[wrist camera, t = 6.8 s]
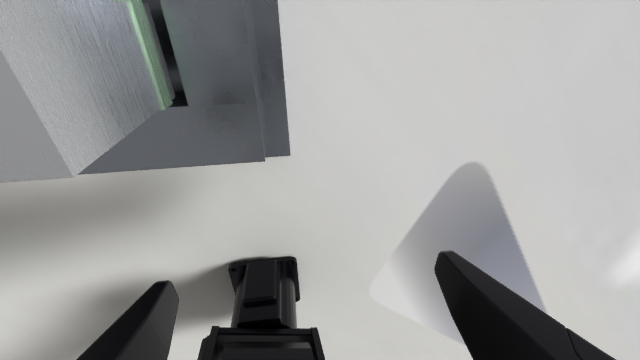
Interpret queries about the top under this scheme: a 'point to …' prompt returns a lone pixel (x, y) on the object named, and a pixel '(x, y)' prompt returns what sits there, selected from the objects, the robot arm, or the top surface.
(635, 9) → the top surface
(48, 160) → the column
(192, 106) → the housing
